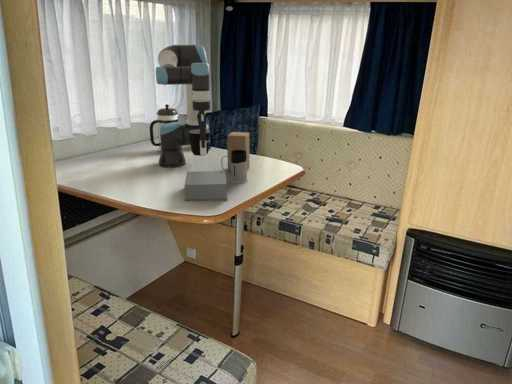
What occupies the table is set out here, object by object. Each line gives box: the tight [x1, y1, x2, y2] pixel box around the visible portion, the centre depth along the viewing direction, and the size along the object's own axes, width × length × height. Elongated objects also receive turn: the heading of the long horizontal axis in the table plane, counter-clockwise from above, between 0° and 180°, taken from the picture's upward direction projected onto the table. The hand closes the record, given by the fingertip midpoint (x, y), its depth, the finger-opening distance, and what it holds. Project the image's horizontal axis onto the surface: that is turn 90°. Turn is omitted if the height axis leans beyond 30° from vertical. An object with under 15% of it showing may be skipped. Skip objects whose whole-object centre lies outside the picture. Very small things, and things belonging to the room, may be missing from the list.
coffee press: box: [149, 103, 179, 153], centre depth 259 cm, size 17×16×30 cm
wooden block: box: [226, 131, 250, 173], centre depth 224 cm, size 10×10×20 cm
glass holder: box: [220, 150, 249, 184], centre depth 206 cm, size 9×14×15 cm, turn 122°
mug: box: [189, 129, 214, 157], centre depth 184 cm, size 12×9×10 cm
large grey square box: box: [184, 170, 228, 202], centre depth 190 cm, size 21×19×8 cm
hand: (203, 152), depth 184 cm, fingers closed on mug, 9 cm apart
